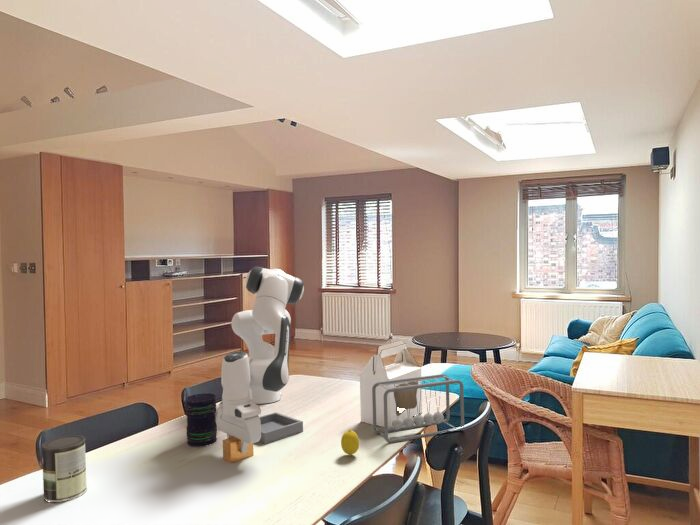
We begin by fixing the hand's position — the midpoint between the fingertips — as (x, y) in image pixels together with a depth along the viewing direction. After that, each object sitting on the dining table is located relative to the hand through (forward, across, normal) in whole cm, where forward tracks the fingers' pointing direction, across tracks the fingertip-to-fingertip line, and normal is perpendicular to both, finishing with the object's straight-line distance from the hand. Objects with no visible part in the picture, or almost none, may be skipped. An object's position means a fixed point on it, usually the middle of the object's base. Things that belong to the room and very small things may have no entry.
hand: (238, 450), depth 160 cm
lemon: (+2, +25, +24) cm, 35 cm away
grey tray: (+2, -11, +20) cm, 23 cm away
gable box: (+2, +10, +60) cm, 61 cm away
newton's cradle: (+2, +28, +54) cm, 61 cm away
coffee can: (+2, -13, -45) cm, 47 cm away
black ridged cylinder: (+2, -21, -1) cm, 21 cm away
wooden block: (+2, 0, 0) cm, 2 cm away
